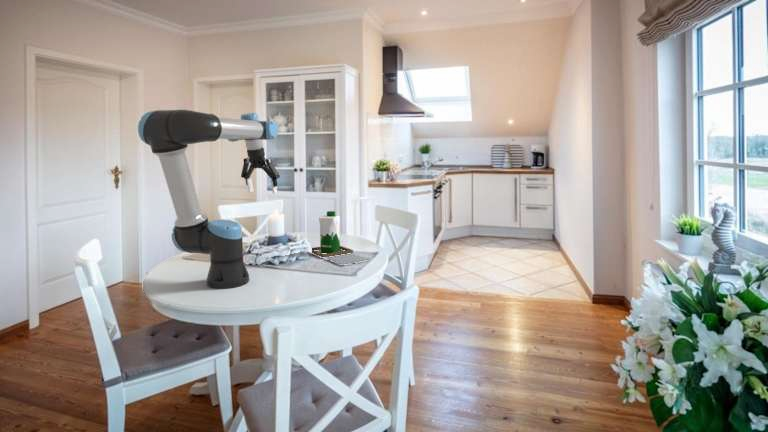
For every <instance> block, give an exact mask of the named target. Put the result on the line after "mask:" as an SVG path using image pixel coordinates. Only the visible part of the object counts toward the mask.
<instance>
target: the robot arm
mask: <svg viewBox="0 0 768 432" xmlns="http://www.w3.org/2000/svg"><path fill="white" fill-rule="evenodd" d="M137 132H138V135H139V138H140V140H141V141H142V142H143V143H144V144H146V145H147V146H150V149H151V152H152V154H154V155H155V156H157V157H158V158H159V162H160V165H161V168H162V172H163V175H164V178H165V182H166V184H167V185H166V186H167V187H168V188H167V189H168V192H169V195H170V198H171V201H172V205H173V208H174V211H175V214H176V218H177V219H175V221H174V226H173V228H172V233H171V240H172V243H173V245H174V246H175V247H176V249H178V250H179V251H181V252H185V253H189V254H199V255H200V254H203V255H209V258H210V266H209V269H208V273H207V277H206V285H207V286H208V287H209V288H213V289H230V288H237V287H241V286H244V285H246V284H248V283H249V282H250V273H249V272H248V268H247V266H246V264H245V261H244V247H243V245H244V243H243V231H242V226H241V223H239V222H237V221H235V220H231V219H230V220H229V219H214V220H210V221H209V218H208V215H207V214H206V213H204V212H202V208H201V206H200V202H199V199H198V198H199V197H198V195H197V192H196V191H197V190H196V187H195V184H194V180H193V178H192V173H191V170H190V166H189V163H188V159H187V155H186V150H187V148H188V147H189V146H188V145H193V144H199V143H208V142H209V143H210V142H216V141H218V140H221V139H222V140H227V141H228V142H232V143H234V142H238V141H244V142H245V148H246V153H247V157H245V158H243V165H242V169H241V175H240V177H241V178H242V179H243V178H244V180H245V185H246V186H247V189H248V193H252V192H254V191H255V190H254V186H253V185H254V184H253V180H252V177H251V176H252V173H253V172H254V169H261V170H262V171H264V172H265V173H266V175H267V176H269V178H270V185H271V192H272V195H274V194H276V193H278V181H277V180H278V179H279V178H281V175H280V174H279V172H278V170H277V169H276V166H275V165H274V163H273V160H272V158H271V157H269V158H265V157H266V156H265V147H264V144H263V141H264V140H266V141H269V140H274V139H276V138H277V137H278V134H279V128H278V125H277V123H276V122H275V121H272V120H260V119H259V115H258V114H257V113H256V112H250V113H249V112H248V113H243V114H241V115H240V118H231V117H230V118H228V117H218V116H217V115H215V114H213V113H207V112H202V111H201V112H200V111H194V110H189V109H169V110H167V109H165V110H164V109H163V110H162V109H158V110H156V109H155V110H152V111H148V112H146V113H144V114H143V115H142V116H141V117H140V120H139V121H138V125H137Z"/></svg>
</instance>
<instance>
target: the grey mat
mask: <svg viewBox="0 0 768 432" xmlns="http://www.w3.org/2000/svg"><path fill="white" fill-rule="evenodd" d="M327 259H329V260H332V261H334V262H337V263H339V264H342V265H343V264H348V263H354V262H359V261H364V260H369V261H370V259H369V258H366V257H363V256H360V255H357V254H356V253H355V254H354V253H353V254H352V253H351V254H345V255H340V256H334V257H328V258H327Z"/></svg>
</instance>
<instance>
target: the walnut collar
mask: <svg viewBox="0 0 768 432" xmlns="http://www.w3.org/2000/svg"><path fill="white" fill-rule="evenodd" d="M311 248H312V253H314V254H316V255H319V256H321V257H329V256H335V255H341V254H347V253H353V254H354V250H353V249H351V248H349V247H345V246H342V245H340V249H342V250H345V251H341V250H340V252H335V253H329V254H322V253H321V252H320V251H314V250H321V246H317V247H311Z"/></svg>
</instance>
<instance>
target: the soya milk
mask: <svg viewBox="0 0 768 432" xmlns="http://www.w3.org/2000/svg"><path fill="white" fill-rule="evenodd" d="M340 218H341V216H340V215H337V214H336V211H334V210H331V211H329V210H327V211H326V215H321V216H320V217H318V221H319V235H320V236H319V239H320V245H319V247H321V251H320V253H327V254H329V253H335V252H339V251H340V252H341V250H340V246H341V243H340V242H341V239H340V238H341V236H340V235H341V233H340V231H341V230H340V222H341V221H340V220H341V219H340Z"/></svg>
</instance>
